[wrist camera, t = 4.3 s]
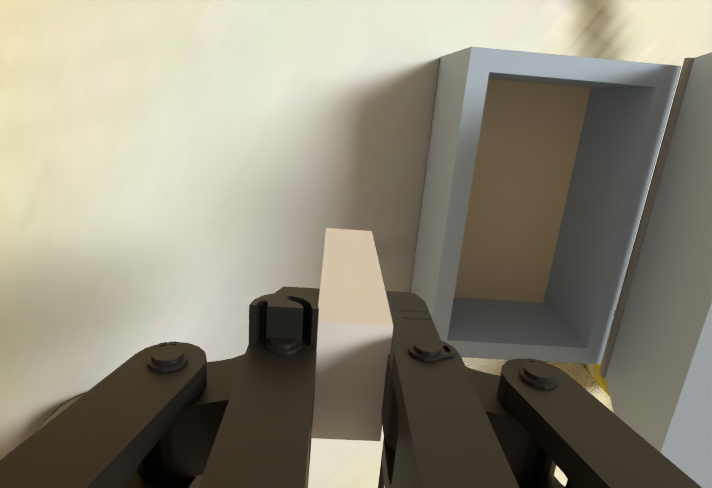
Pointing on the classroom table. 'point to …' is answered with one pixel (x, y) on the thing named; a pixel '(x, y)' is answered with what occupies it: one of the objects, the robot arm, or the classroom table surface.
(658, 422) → the lid
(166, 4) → the classroom table surface
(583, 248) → the box
